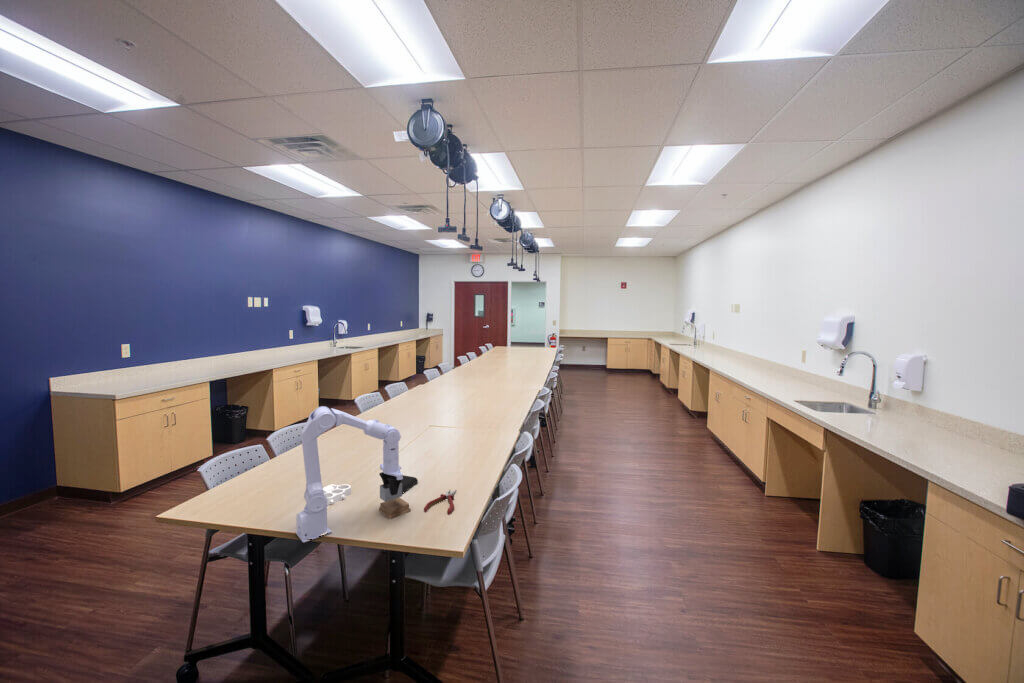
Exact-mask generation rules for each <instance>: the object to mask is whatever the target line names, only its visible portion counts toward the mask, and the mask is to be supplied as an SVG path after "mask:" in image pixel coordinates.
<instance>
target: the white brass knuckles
mask: <svg viewBox="0 0 1024 683" xmlns="http://www.w3.org/2000/svg"><path fill="white" fill-rule="evenodd" d="M322 487H323V486H322ZM323 491H324V494H325V496H326V498H327V506H330V504H331V505H334V504H335V503H337V501H338V502H341V501H343V500H344V499H345V498H347V495H348V496H350V495H351V494H352V486H351V485H350V484H347V483H344V484H339V485H338V484H334V483H331V484H329V485H326V486H324V487H323ZM342 499H343V500H342ZM340 500H341V501H340ZM333 503H334V504H333Z"/></svg>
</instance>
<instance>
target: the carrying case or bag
mask: <svg viewBox="0 0 1024 683" xmlns="http://www.w3.org/2000/svg"><path fill="white" fill-rule="evenodd" d="M401 483H402V494H404V493H406V490H407V491H408V490H410V489H411V488H413V485H414V486H415V485H416V484H417V483H418V478H417V477H414V476H409V475H404V474H403V479H402V481H401ZM410 487H411V488H410ZM403 492H404V493H403Z"/></svg>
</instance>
